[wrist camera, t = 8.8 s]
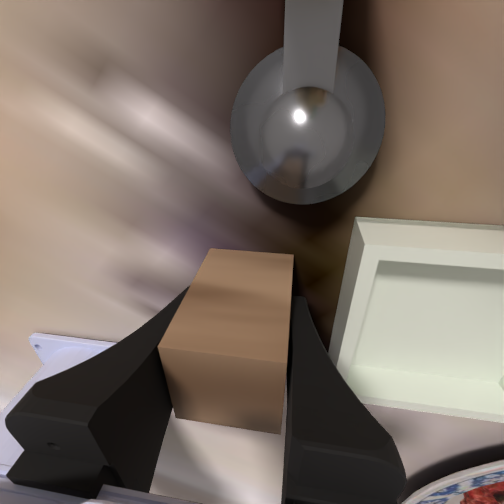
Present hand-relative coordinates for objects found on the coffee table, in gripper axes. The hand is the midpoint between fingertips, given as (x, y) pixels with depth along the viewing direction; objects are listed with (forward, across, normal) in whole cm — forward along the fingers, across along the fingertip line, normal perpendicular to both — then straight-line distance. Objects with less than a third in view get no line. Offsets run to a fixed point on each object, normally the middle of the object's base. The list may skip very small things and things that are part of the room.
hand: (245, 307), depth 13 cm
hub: (+2, -2, -8) cm, 8 cm away
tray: (+2, -9, 0) cm, 9 cm away
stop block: (+2, 0, 0) cm, 2 cm away
